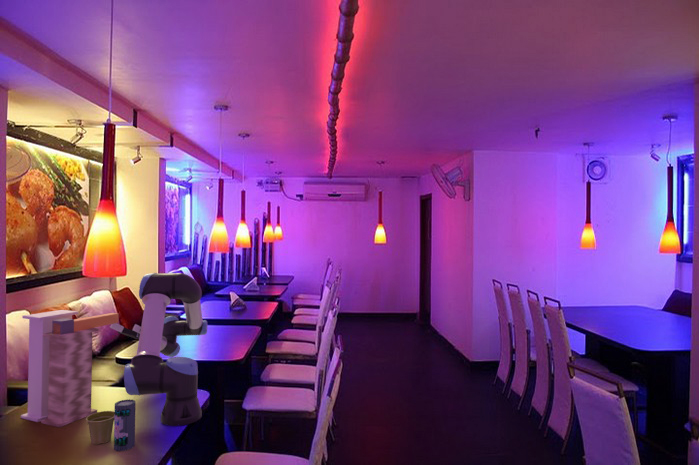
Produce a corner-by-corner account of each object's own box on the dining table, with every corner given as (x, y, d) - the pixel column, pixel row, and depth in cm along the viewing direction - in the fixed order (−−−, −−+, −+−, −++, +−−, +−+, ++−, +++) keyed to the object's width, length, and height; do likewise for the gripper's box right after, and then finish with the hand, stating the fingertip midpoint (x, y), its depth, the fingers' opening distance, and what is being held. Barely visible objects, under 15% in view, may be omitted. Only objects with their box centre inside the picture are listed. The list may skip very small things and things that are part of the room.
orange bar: (110, 321, 197) (110, 310, 198) (119, 322, 196) (119, 311, 196) (52, 333, 173) (52, 320, 173) (61, 334, 171) (61, 321, 171)
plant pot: (102, 448, 152) (103, 422, 152) (78, 445, 154) (79, 420, 154) (122, 436, 161) (122, 412, 162) (99, 433, 163) (99, 409, 163)
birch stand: (80, 408, 187) (81, 326, 187) (97, 412, 183) (98, 328, 183) (41, 422, 172) (42, 333, 172) (58, 427, 168) (60, 336, 169)
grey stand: (60, 404, 191) (61, 309, 192) (76, 407, 188) (78, 311, 188) (20, 417, 177) (22, 315, 177) (37, 422, 173) (39, 317, 173)
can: (110, 447, 153) (111, 403, 153) (128, 441, 158) (129, 398, 158) (120, 452, 149) (121, 407, 149) (137, 445, 154) (138, 402, 154)
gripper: (171, 351, 211) (140, 336, 194) (132, 346, 220) (98, 331, 203) (177, 336, 214) (147, 320, 197) (138, 331, 224) (106, 315, 207)
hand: (122, 325), depth 200 cm, fingers open, 13 cm apart
